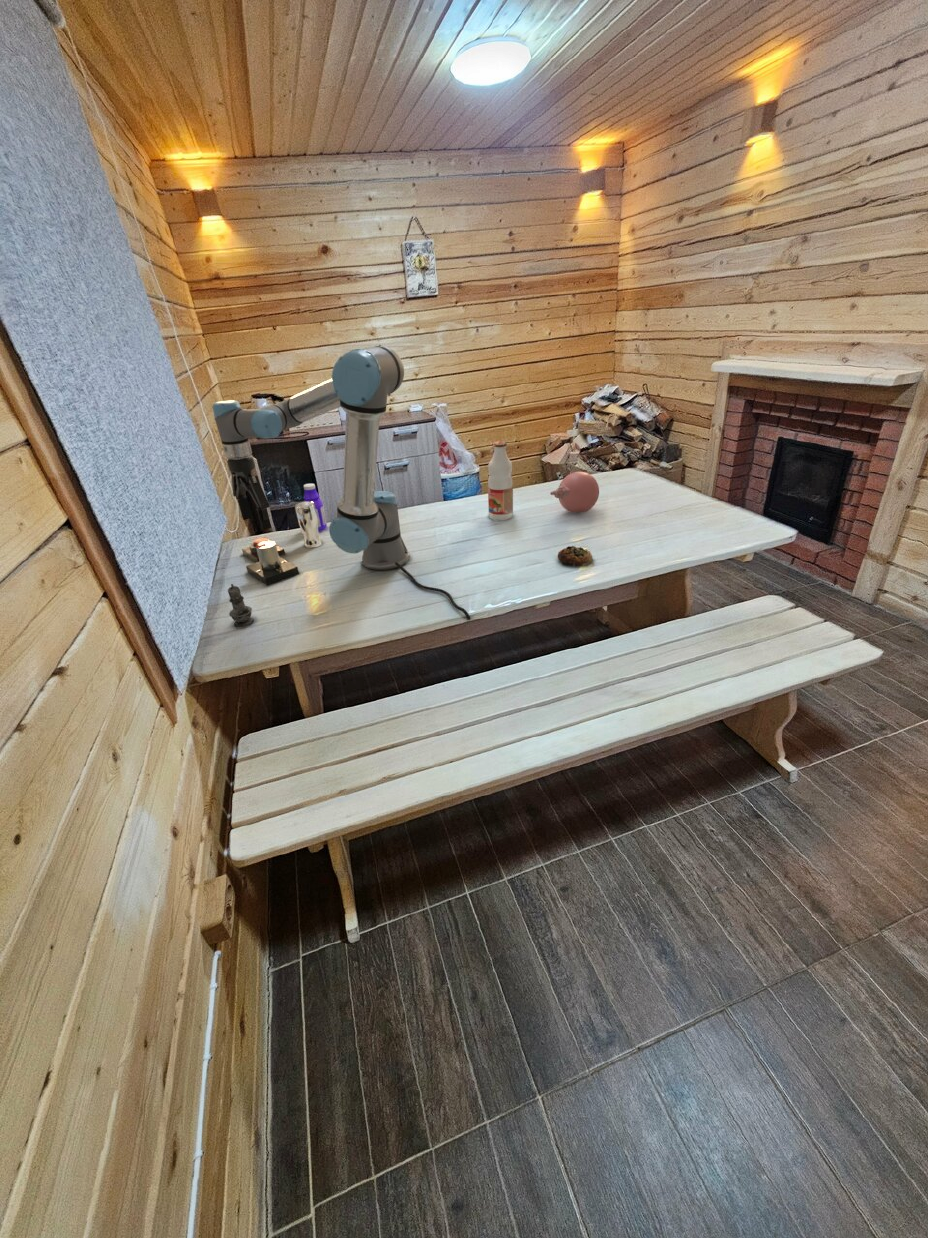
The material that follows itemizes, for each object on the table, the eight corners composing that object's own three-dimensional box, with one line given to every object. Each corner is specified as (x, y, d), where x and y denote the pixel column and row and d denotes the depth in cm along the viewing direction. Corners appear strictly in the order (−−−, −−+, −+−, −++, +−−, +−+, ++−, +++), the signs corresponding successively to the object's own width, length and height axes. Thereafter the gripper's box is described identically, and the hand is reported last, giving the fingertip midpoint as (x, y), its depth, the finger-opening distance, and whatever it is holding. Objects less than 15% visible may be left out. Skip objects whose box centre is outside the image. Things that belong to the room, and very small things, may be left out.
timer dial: (276, 560, 171) (270, 538, 167) (284, 565, 167) (278, 543, 163) (258, 566, 168) (252, 544, 164) (266, 572, 164) (259, 549, 160)
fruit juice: (515, 519, 199) (515, 444, 184) (491, 522, 198) (489, 446, 183) (509, 511, 207) (509, 438, 192) (486, 513, 206) (484, 440, 191)
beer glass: (318, 548, 184) (309, 508, 176) (300, 548, 185) (290, 507, 177) (326, 540, 190) (318, 501, 182) (308, 540, 191) (299, 500, 183)
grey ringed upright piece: (236, 617, 145) (223, 579, 139) (257, 616, 145) (246, 577, 139) (230, 629, 140) (216, 590, 134) (252, 627, 140) (239, 588, 134)
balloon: (539, 510, 205) (540, 472, 197) (584, 502, 210) (586, 464, 202) (558, 523, 193) (560, 482, 185) (605, 514, 198) (609, 474, 190)
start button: (271, 544, 180) (270, 539, 179) (258, 548, 177) (256, 543, 176) (265, 540, 183) (263, 535, 182) (251, 545, 180) (250, 540, 179)
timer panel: (299, 573, 167) (297, 566, 166) (267, 585, 161) (265, 578, 160) (278, 561, 176) (277, 554, 175) (247, 572, 170) (245, 565, 168)
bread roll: (553, 564, 163) (555, 549, 161) (560, 555, 172) (562, 540, 170) (589, 570, 159) (592, 554, 157) (594, 559, 169) (596, 544, 167)
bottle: (330, 527, 201) (321, 482, 192) (322, 532, 197) (313, 487, 188) (314, 525, 204) (304, 482, 195) (305, 531, 199) (296, 486, 190)
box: (285, 554, 181) (282, 543, 179) (258, 563, 176) (255, 552, 173) (269, 545, 189) (267, 535, 187) (243, 554, 183) (240, 543, 181)
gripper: (210, 452, 161) (229, 517, 172) (245, 466, 146) (264, 536, 157) (233, 447, 165) (250, 511, 177) (270, 460, 150) (286, 529, 161)
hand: (256, 523), depth 167 cm, fingers open, 13 cm apart
